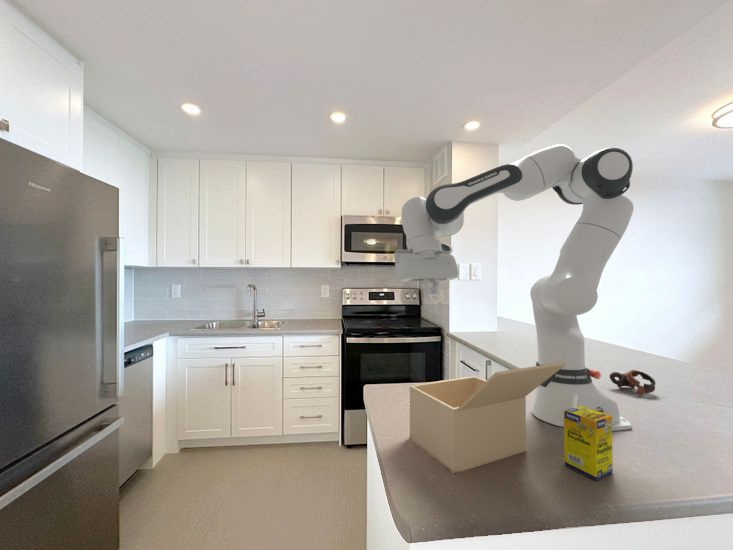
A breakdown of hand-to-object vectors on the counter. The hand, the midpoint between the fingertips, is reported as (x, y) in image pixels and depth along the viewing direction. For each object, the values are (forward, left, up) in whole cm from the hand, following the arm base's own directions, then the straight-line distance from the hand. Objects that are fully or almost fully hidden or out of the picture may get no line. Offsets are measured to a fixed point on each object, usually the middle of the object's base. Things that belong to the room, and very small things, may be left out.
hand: (432, 295), depth 87 cm
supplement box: (-25, +26, -33) cm, 49 cm away
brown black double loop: (-74, -21, -33) cm, 83 cm away
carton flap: (-9, +28, -16) cm, 33 cm away
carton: (-4, +17, -33) cm, 37 cm away
